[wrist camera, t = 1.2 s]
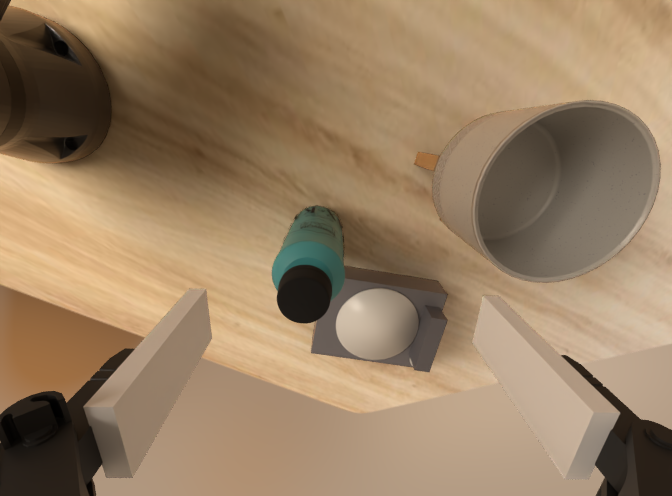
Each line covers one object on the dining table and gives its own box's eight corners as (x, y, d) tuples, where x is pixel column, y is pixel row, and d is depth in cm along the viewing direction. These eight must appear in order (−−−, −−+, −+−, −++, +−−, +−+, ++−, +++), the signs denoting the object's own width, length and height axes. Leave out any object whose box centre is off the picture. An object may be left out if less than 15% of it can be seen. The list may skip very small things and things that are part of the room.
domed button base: (312, 335, 47) (309, 368, 40) (325, 262, 43) (324, 286, 36) (415, 350, 48) (428, 384, 41) (437, 280, 44) (456, 306, 37)
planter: (489, 233, 41) (595, 299, 25) (398, 208, 40) (445, 259, 23) (536, 134, 37) (702, 133, 21) (435, 102, 36) (526, 72, 19)
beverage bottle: (344, 246, 42) (354, 338, 23) (295, 251, 42) (265, 344, 23) (340, 199, 40) (348, 256, 21) (288, 203, 40) (250, 264, 21)
